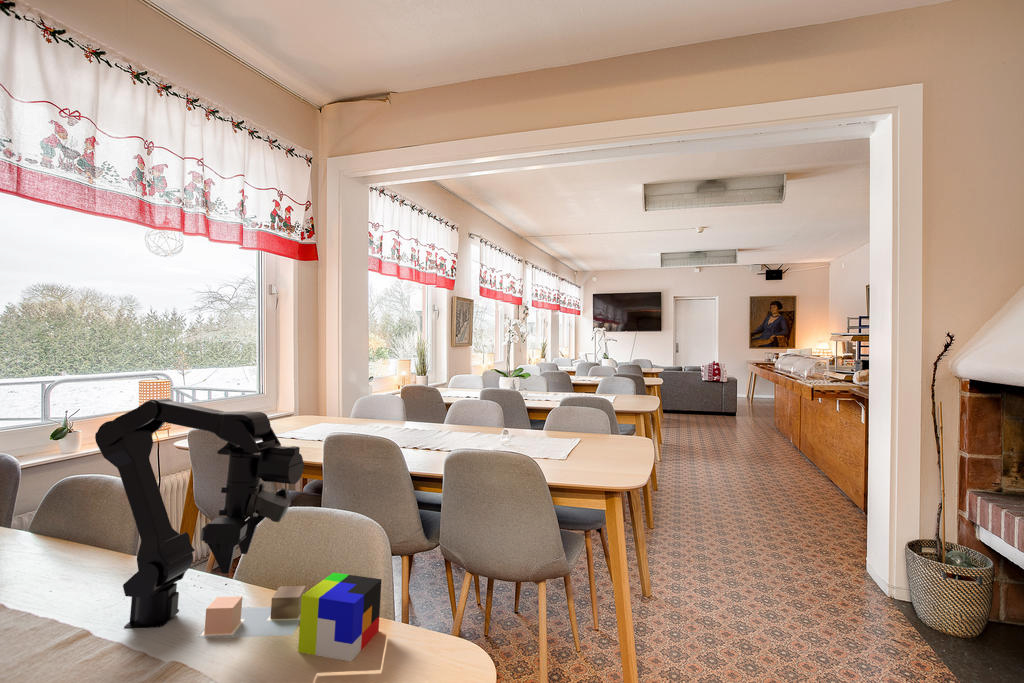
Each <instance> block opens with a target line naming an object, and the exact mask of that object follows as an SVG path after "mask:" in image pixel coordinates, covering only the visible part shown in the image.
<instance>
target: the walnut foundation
mask: <svg viewBox="0 0 1024 683" xmlns="http://www.w3.org/2000/svg"><path fill="white" fill-rule="evenodd" d="M304 593H306V585H290V586H289V585H287V586H285V585H283V586H279V587H278V588H277V589H276V591H275V593H274V594H273V596H272V597H271V603H270V604H271V605H270V607H271V617H270V619H294V618H298V617H299V615H300V613H301V598H302V595H303V594H304Z"/></svg>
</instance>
